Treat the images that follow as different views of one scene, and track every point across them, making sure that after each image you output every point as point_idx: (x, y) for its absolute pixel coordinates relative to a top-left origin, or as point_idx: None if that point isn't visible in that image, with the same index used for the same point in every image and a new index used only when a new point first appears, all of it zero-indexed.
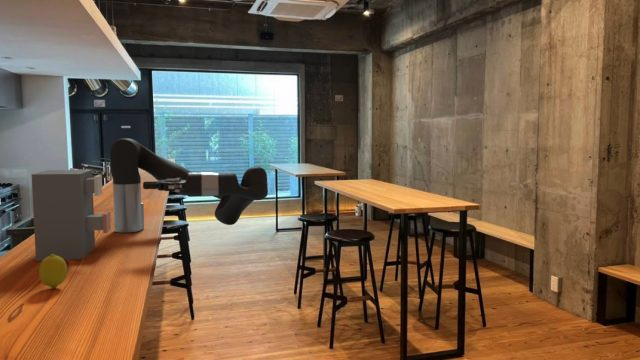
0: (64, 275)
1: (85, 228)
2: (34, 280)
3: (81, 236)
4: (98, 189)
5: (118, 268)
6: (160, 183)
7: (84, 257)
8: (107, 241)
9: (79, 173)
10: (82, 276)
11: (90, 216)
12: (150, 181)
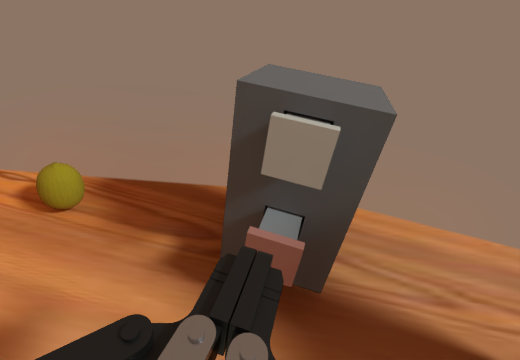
0: (41, 199)
1: (250, 223)
2: (136, 199)
3: (224, 224)
4: (269, 157)
5: (82, 302)
6: (102, 333)
7: None
8: (375, 328)
9: (254, 82)
10: (93, 242)
11: (272, 214)
12: (255, 285)
